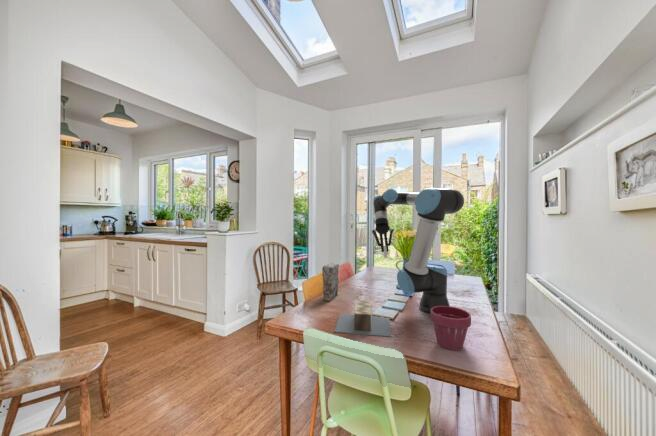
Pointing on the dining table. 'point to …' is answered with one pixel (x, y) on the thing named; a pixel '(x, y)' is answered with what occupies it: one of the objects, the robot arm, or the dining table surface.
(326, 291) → the stone block
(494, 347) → the dining table surface
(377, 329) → the slate mat
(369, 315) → the birch block
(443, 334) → the plant pot
